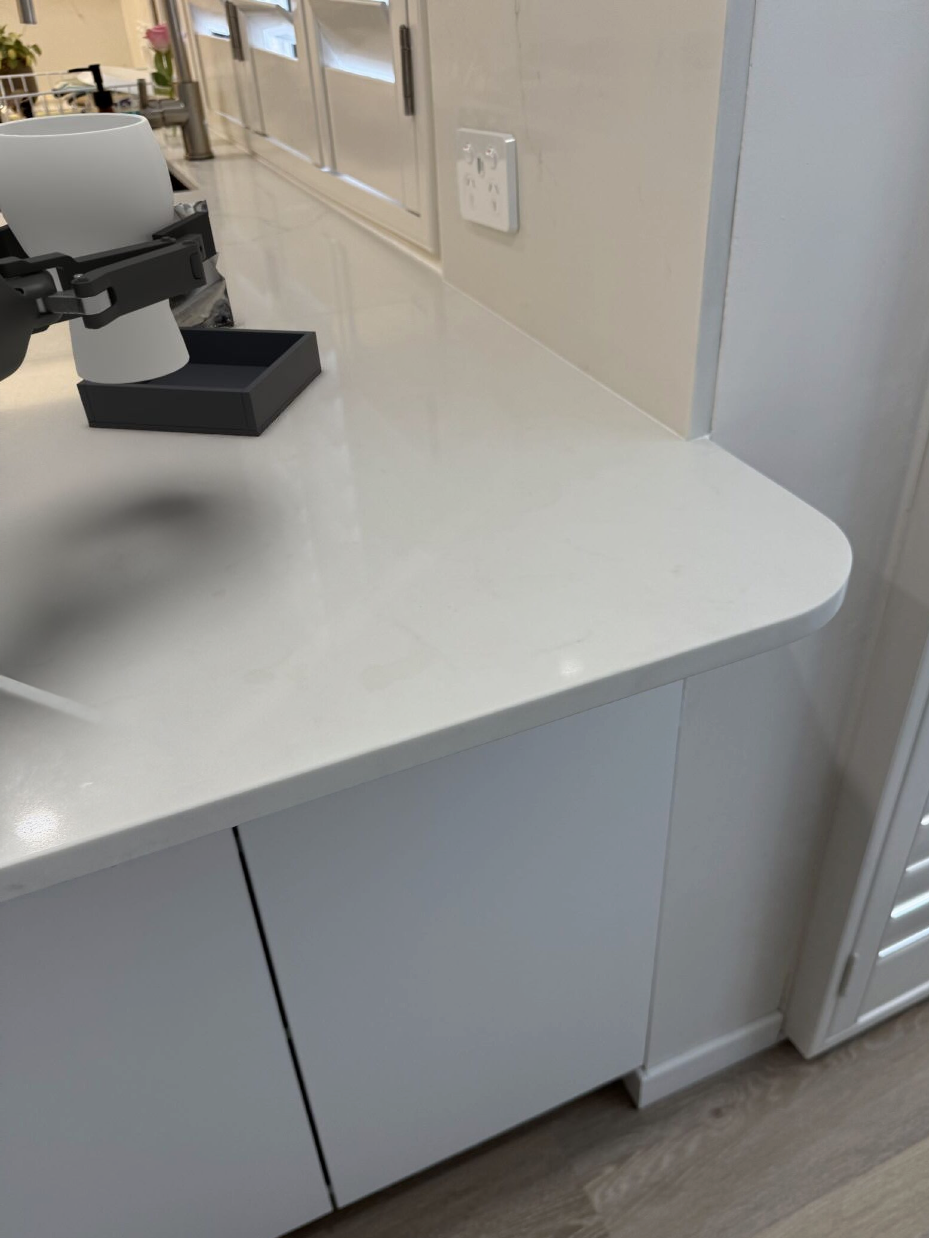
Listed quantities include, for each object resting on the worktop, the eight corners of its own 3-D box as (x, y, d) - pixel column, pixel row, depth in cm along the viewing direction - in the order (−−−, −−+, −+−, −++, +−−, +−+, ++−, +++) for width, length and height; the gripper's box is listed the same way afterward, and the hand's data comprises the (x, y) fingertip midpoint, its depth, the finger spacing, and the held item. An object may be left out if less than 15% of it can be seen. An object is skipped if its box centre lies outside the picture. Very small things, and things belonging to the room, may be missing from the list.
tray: (89, 426, 87) (75, 384, 84) (172, 364, 99) (163, 325, 97) (258, 436, 84) (249, 392, 81) (321, 371, 97) (315, 331, 94)
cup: (132, 334, 73) (71, 108, 64) (240, 351, 69) (192, 115, 60) (22, 379, 66) (-66, 132, 56) (136, 402, 62) (62, 142, 53)
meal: (227, 318, 112) (202, 196, 104) (235, 328, 109) (209, 203, 100) (95, 338, 107) (58, 211, 99) (99, 349, 104) (61, 219, 96)
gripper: (-234, 393, 53) (3, 282, 70) (143, 414, 49) (297, 292, 66) (-310, 250, 48) (-36, 168, 65) (101, 262, 45) (278, 172, 61)
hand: (132, 231), depth 66 cm, fingers closed on cup, 11 cm apart
